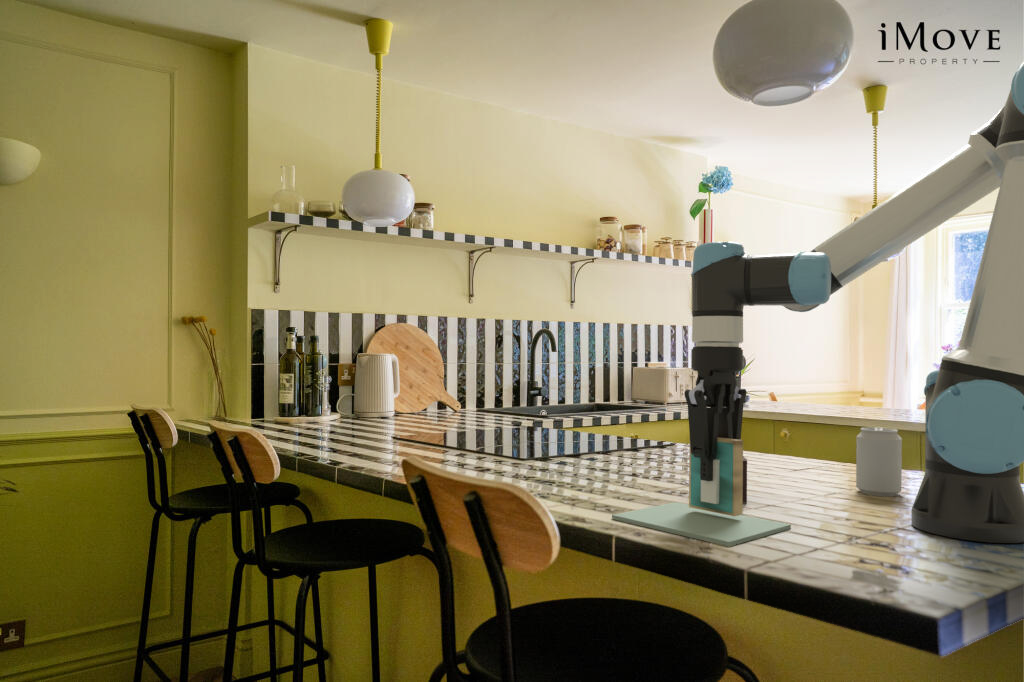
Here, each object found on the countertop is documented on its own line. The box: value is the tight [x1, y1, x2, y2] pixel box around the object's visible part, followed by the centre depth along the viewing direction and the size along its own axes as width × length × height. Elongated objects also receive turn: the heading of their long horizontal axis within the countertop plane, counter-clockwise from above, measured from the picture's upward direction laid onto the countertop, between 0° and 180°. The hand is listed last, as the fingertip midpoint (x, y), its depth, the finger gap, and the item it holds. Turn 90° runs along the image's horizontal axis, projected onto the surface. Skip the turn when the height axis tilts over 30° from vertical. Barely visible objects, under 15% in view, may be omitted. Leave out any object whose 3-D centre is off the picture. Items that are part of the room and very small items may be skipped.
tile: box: [688, 437, 744, 516], centre depth 111 cm, size 8×2×11 cm, turn 41°
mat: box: [611, 501, 792, 547], centre depth 108 cm, size 20×16×1 cm
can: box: [855, 426, 903, 497], centre depth 135 cm, size 8×8×12 cm
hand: (715, 500), depth 110 cm, fingers closed on tile, 2 cm apart
